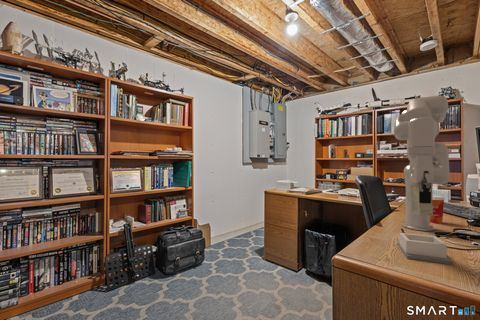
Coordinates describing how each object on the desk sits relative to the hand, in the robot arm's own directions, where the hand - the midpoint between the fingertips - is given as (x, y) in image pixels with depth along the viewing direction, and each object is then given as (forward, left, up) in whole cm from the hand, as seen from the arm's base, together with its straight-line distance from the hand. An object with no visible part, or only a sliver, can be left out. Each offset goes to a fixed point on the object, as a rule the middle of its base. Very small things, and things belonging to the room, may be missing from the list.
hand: (421, 200), depth 85 cm
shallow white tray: (0, 0, -19) cm, 19 cm away
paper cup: (-53, +21, -19) cm, 60 cm away
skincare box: (0, 0, -5) cm, 5 cm away
